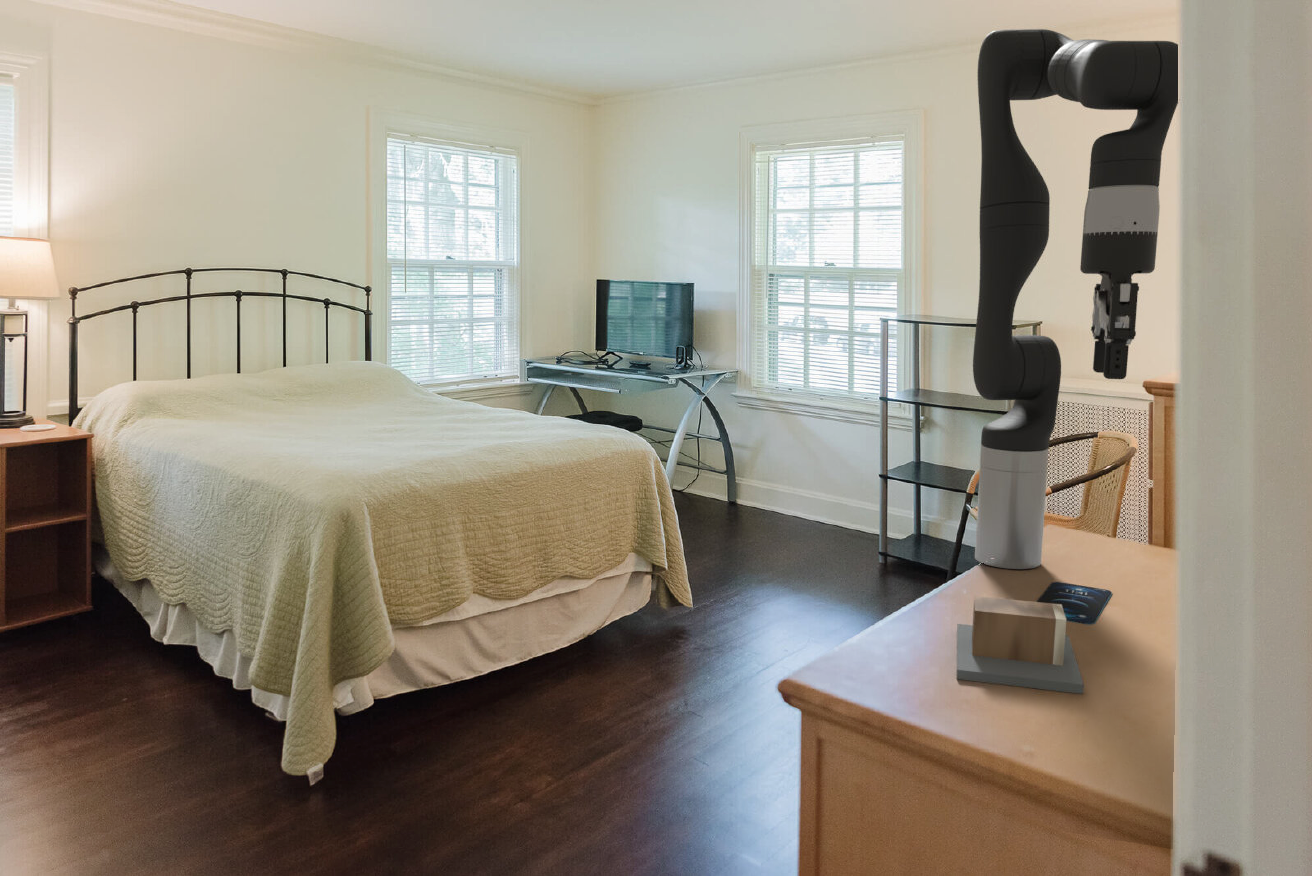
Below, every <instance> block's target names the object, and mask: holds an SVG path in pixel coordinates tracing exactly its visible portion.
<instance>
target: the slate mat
mask: <svg viewBox="0 0 1312 876" xmlns="http://www.w3.org/2000/svg"><path fill="white" fill-rule="evenodd" d="M972 627H973V624H962V623H957V629H956V680H965V681H972V682H979V683H981V682H982V683H989V684H997V685H1005V686H1014V687H1020V688H1021V687H1022V688H1029V689H1030V688H1031V689H1038V690H1046V691H1054V692H1055V691H1056V692H1063V693H1072V694H1080V695H1084V682H1083V678H1082V675H1081V670H1080V668H1079V665H1078V661H1077V660H1076V659H1077V658H1076V656H1075V652H1074V650H1073V646H1072V643H1071V639H1070V635H1068V634H1065V646H1064V660H1063V666H1062V665H1054V664H1045V663H1036V662H1027V661H1019V660H1010V659H1001V658H992V657H983V656H975V655H972Z"/></svg>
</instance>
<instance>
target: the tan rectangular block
mask: <svg viewBox="0 0 1312 876" xmlns="http://www.w3.org/2000/svg"><path fill="white" fill-rule="evenodd" d="M972 625H973V627H972V655H975V656H983V657H992V658H1001V659H1010V660H1019V661H1027V662H1036V663H1045V664H1054V665H1062V666H1063V660H1064V646H1065V635H1066V630H1067V628H1066V627H1067V621H1066V617H1065V614H1064V610H1063V607H1062V604H1052V603H1041V602H1037V601H1029V600H1020V599H1019V600H1018V599H1009V598H1008V599H1007V598H1000V597H999V598H998V597H987V596H976V595H974V596H973V613H972Z"/></svg>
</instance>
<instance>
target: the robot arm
mask: <svg viewBox="0 0 1312 876" xmlns="http://www.w3.org/2000/svg"><path fill="white" fill-rule="evenodd" d="M1178 45H1179V44H1178V43H1176V42H1174V41H1172V40H1171V41H1170V40H1106V39H1089V38H1088V39H1079V40H1078V39H1077V40H1074V39H1072V38H1070V37H1068V36H1066V35H1065V34H1063V33H1061V32H1058V31H1054V30H1050V29H1044V28H1036V29H1034V28H1033V29H1028V28H1027V29H1025V28H1024V29H1023V28H1021V29H997V30H993V31H991V32H989V33H988V34H986V36H985V37H984V39H983V41H982V43H981V46H980V48H979V54H978V59H977V95H978V108H979V110H978V111H979V113H978V114H979V125H980V142H981V143H980V146H981V147H980V148H981V149H980V150H981V152H980V153H981V168H980V173H981V174H980V198H979V285H978V286H979V290H978V291H979V292H978V303H977V313H976V314H977V316H976V322H975V323H976V325H975V333H974V334H975V335H974V342H973V343H974V345H973V355H972V356H973V357H972V372H973V375H972V376H973V381H974V384H975V388H976V390H977V392H978V394H979V395H980V396H981V397H982V398H983V399H985V400H988V401H1014V402H1013V405H1012V407H1011V408H1010V410H1009V411H1008V412H1007V413H1005V414H1004V415H1002V416H1001V417H999V418H997V419H995V420H993V421H990V422H988V423H986V424H985V425H984V426H983V428H982V431H981V438H980V439H981V440H980V453H979V454H980V455H979V456H980V458H979V474H978V476H979V477H978V492H977V494H978V495H977V513H976V528H975V529H976V530H975V542H974V543H975V545H974V560H976V561H978V562H979V563H982V564H983V563H984V564H983V565H987V566H991V567H996V568H1001V569H1008V570H1009V569H1011V570H1026V569H1028V570H1029V569H1035V568H1037V567H1039V566H1041V564H1042V553H1043V551H1042V550H1043V538H1044V527H1045V526H1044V524H1045V509H1046V497H1047V496H1046V495H1047V494H1046V493H1047V479H1048V464H1049V463H1048V462H1049V448H1050V439H1051V437H1052V434H1053V431H1054V428H1055V425H1056V419H1057V418H1056V417H1057V410H1058V403H1059V394H1060V388H1061V377H1062V361H1061V360H1062V359H1061V354H1060V350H1059V348H1058V346H1057V343H1056V342H1055V341H1054V340H1053V339H1052V338H1050V337H1048V336H1046V335H1041V334H1040V335H1038V334H1037V335H1036V334H1032V335H1026V334H1025V335H1021V334H1020V335H1017V334H1016V335H1014V334H1013V321H1014V313H1015V308H1016V303H1017V299H1018V297H1019V296H1020V292H1021V290H1022V289H1023V286H1024V284H1025V283H1027V280H1028V278H1029V277H1030V275H1031V274H1032V272H1033V270H1034V269H1035V267H1036V266H1037V264H1038V263H1039V261H1040V259H1041V257H1042V256H1043V253H1044V251H1045V250H1046V247H1047V244H1048V242H1049V236H1050V203H1051V202H1050V199H1051V198H1050V197H1051V196H1050V191H1049V188H1048V185H1047V183H1046V181H1045V179H1044V177H1043V176H1042V174H1041V172H1040V170H1039V168H1038V166H1036V163H1034V161H1033V159H1032V158H1031V157H1030V155H1029V154H1028V152H1027V150H1026V149H1025V147H1024V145H1023V144H1022V141H1021V140H1020V138H1019V136H1018V133H1017V131H1016V128H1015V125H1014V120H1013V116H1012V114H1013V113H1012V109H1011V101H1035V100H1041V99H1045V98H1049V97H1053V96H1059V97H1060V98H1061V99H1064V100H1067V101H1071V102H1076V103H1080V104H1081V105H1082V106H1083V107H1084V108H1087V109H1091V110H1101V111H1102V110H1103V111H1125V110H1126V111H1130V110H1131V111H1134V110H1135V111H1137V112H1136V117H1135V118H1134V121H1133V122H1132V123H1131V126H1130V127H1129V128H1128V129H1123V130H1117V131H1114V132H1109V133H1105V134H1103V135H1101V136H1099V137H1098V138H1096V139H1095V141H1094V143H1092V145H1091V146H1092V147H1091V153H1090V161H1089V162H1090V164H1089V165H1090V166H1089V176H1088V177H1089V178H1088V179H1089V180H1088V191H1087V197H1086V203H1085V207H1084V211H1083V212H1084V215H1083V229H1082V242H1081V254H1080V255H1081V256H1080V265H1079V266H1080V267H1079V268H1080V272H1082V274H1086V275H1100V276H1101V280H1100V283H1095V286H1094V291H1093V296H1092V300H1093V302H1092V303H1093V310H1092V314H1091V319H1092V326H1090V331H1091V333H1092V334H1091V335H1092V337H1093V341H1094V340H1095V341H1094V349H1093V350H1094V351H1093V352H1094V353H1093V362H1092V363H1093V364H1092V369H1093V372H1095V373H1101V374H1103V377H1104V378H1106V379H1107V380H1124V379H1126V377H1127V372H1128V371H1127V370H1128V358H1129V348H1130V347H1129V345H1131V344H1132V342H1133V340H1134V339H1135V337H1136V335H1137V334H1136V332H1137V331H1136V323H1137V322H1136V321H1137V310H1138V295H1139V293H1138V292H1139V290H1140V286H1139V283H1138V282H1132V281H1133V278H1132V277H1133V275H1135V274H1137V275H1138V274H1140V275H1141V274H1142V275H1143V274H1145V275H1147V274H1151V273H1153V272H1154V271H1155V268H1156V260H1157V259H1156V258H1157V256H1156V255H1157V246H1158V234H1159V233H1158V232H1159V224H1160V223H1159V221H1160V208H1161V207H1160V206H1161V205H1160V181H1161V180H1160V178H1161V167H1162V156H1163V155H1162V154H1163V150H1164V149H1163V148H1164V145H1165V142H1166V138H1167V135H1168V133H1169V130H1170V126H1171V124H1172V120H1173V117H1174V114H1175V112H1176V109H1177V107H1178V104H1179V102H1178ZM991 558H994V559H991ZM986 561H987V562H986Z"/></svg>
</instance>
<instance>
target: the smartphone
mask: <svg viewBox="0 0 1312 876" xmlns="http://www.w3.org/2000/svg"><path fill="white" fill-rule="evenodd" d="M1112 595H1113V591H1111V590H1108V589H1105V588H1099V587H1091V586H1087V585H1086V586H1085V585H1080V584H1073V583H1067V582H1061V581H1053V582H1051V583H1050V584H1049V585H1048V586H1047V588H1046V589H1045V590H1044V591H1043V592H1042V594H1041V595H1040V596H1039V597H1038V599H1037V600H1036V602H1041V603H1052V604H1062V607H1063V610H1064V614H1065V617H1066V622H1069V623H1074V624H1075V623H1076V624H1082V625H1088V626H1091V625H1095V624H1096V622H1097V621H1098V619H1099V617H1100V616H1101V614H1102V613H1103V610H1104V609H1105V607H1106V606H1107V604H1108V602H1109V601H1110V600H1111V597H1112Z"/></svg>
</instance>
